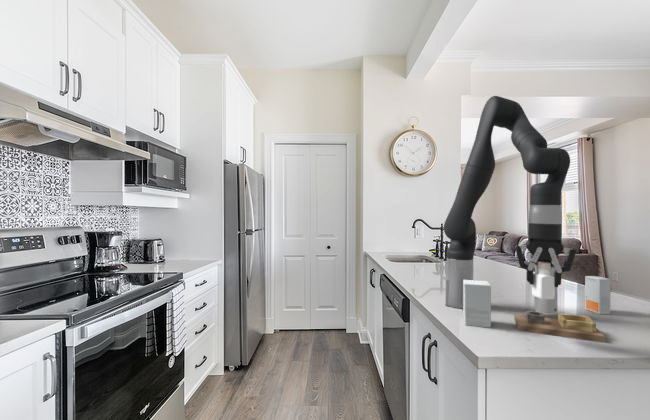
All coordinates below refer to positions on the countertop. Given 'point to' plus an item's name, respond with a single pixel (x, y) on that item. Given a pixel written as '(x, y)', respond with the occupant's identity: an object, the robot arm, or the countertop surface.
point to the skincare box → (597, 294)
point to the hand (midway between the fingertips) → (543, 285)
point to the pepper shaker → (543, 282)
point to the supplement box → (477, 303)
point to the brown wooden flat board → (559, 326)
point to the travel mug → (547, 305)
